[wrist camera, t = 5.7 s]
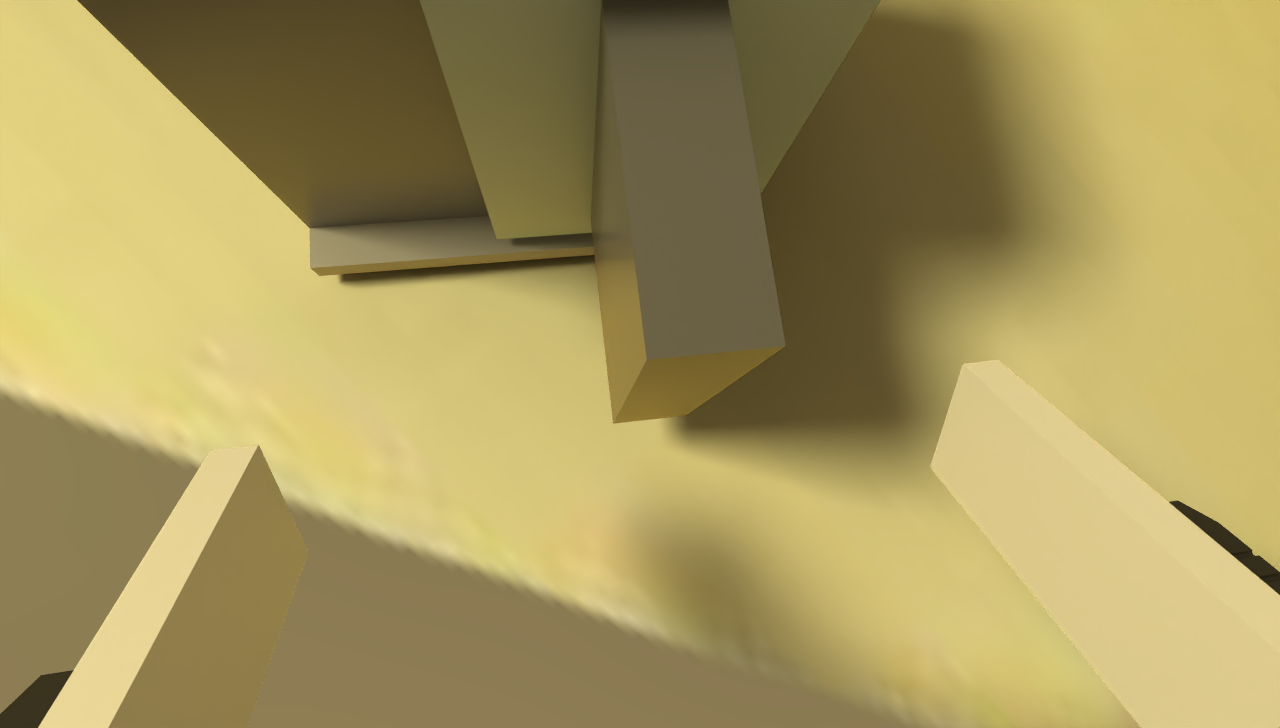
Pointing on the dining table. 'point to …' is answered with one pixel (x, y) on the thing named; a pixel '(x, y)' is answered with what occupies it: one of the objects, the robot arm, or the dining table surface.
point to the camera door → (647, 160)
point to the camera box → (333, 123)
